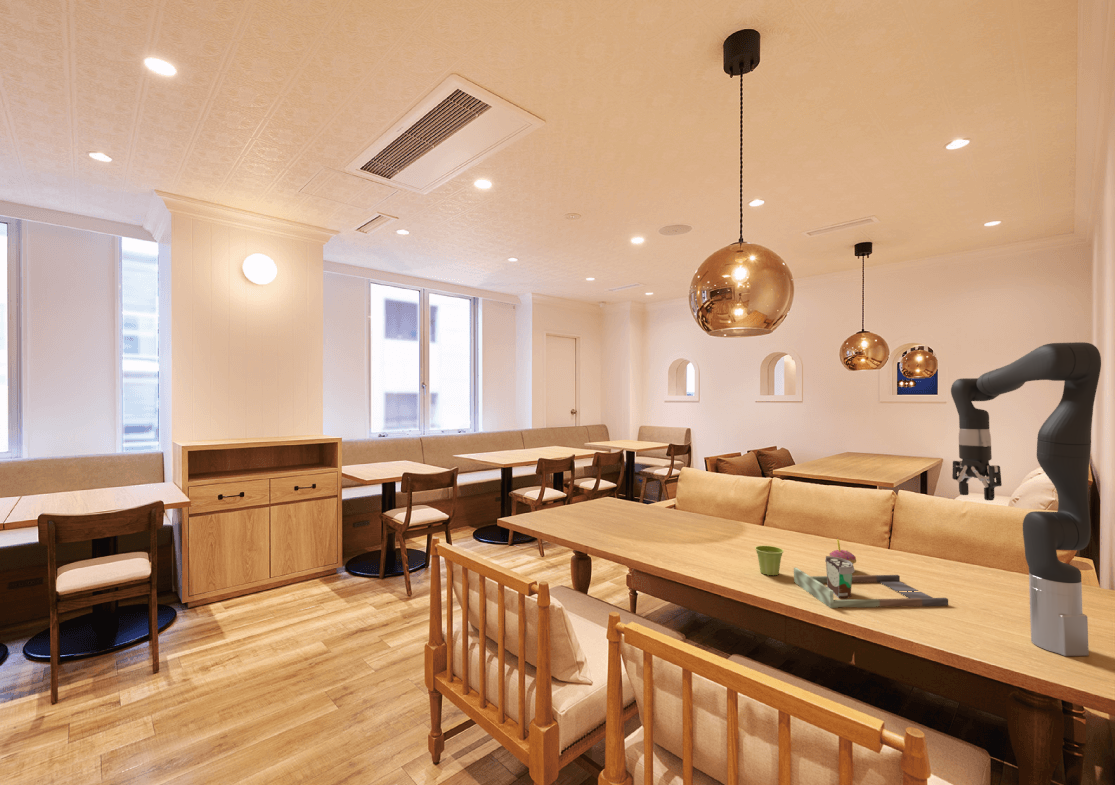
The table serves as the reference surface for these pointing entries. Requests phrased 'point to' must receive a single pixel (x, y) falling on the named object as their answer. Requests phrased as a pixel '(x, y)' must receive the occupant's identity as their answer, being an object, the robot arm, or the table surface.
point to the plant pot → (769, 559)
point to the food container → (839, 576)
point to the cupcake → (843, 554)
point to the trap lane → (893, 581)
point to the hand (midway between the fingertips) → (976, 497)
